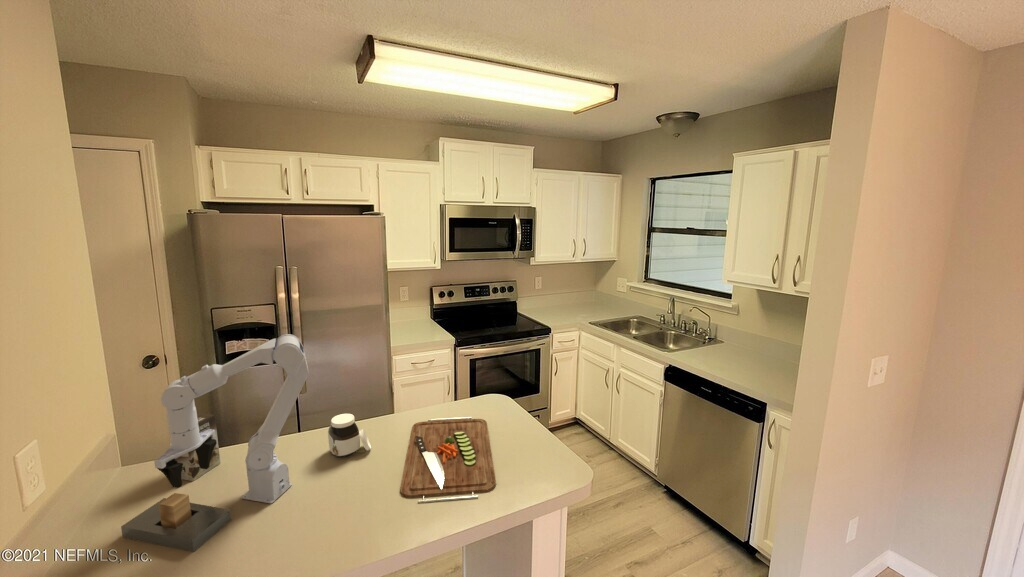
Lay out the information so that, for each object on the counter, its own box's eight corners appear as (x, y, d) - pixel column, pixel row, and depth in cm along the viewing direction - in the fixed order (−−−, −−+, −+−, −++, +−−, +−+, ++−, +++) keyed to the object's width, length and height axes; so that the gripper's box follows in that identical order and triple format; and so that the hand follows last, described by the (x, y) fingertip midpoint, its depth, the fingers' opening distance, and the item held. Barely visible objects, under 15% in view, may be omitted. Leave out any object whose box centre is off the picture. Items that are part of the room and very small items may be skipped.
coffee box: (193, 481, 118) (186, 429, 115) (175, 478, 119) (167, 427, 116) (221, 463, 127) (215, 414, 124) (204, 460, 128) (197, 411, 125)
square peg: (192, 523, 102) (188, 495, 101) (177, 536, 98) (172, 506, 97) (179, 521, 103) (174, 492, 101) (163, 533, 99) (158, 504, 98)
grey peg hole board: (231, 520, 104) (230, 509, 103) (194, 551, 94) (192, 540, 93) (165, 508, 107) (163, 498, 107) (123, 537, 98) (121, 526, 97)
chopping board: (497, 498, 114) (498, 488, 113) (397, 506, 110) (397, 496, 109) (485, 418, 157) (485, 410, 157) (413, 422, 154) (413, 414, 153)
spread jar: (325, 451, 134) (323, 417, 132) (358, 437, 142) (356, 405, 140) (344, 466, 126) (342, 431, 124) (377, 450, 134) (375, 417, 132)
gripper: (196, 412, 110) (203, 458, 113) (140, 442, 96) (149, 493, 99) (219, 415, 109) (225, 461, 112) (165, 445, 95) (174, 497, 98)
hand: (191, 477), depth 105 cm, fingers open, 7 cm apart
